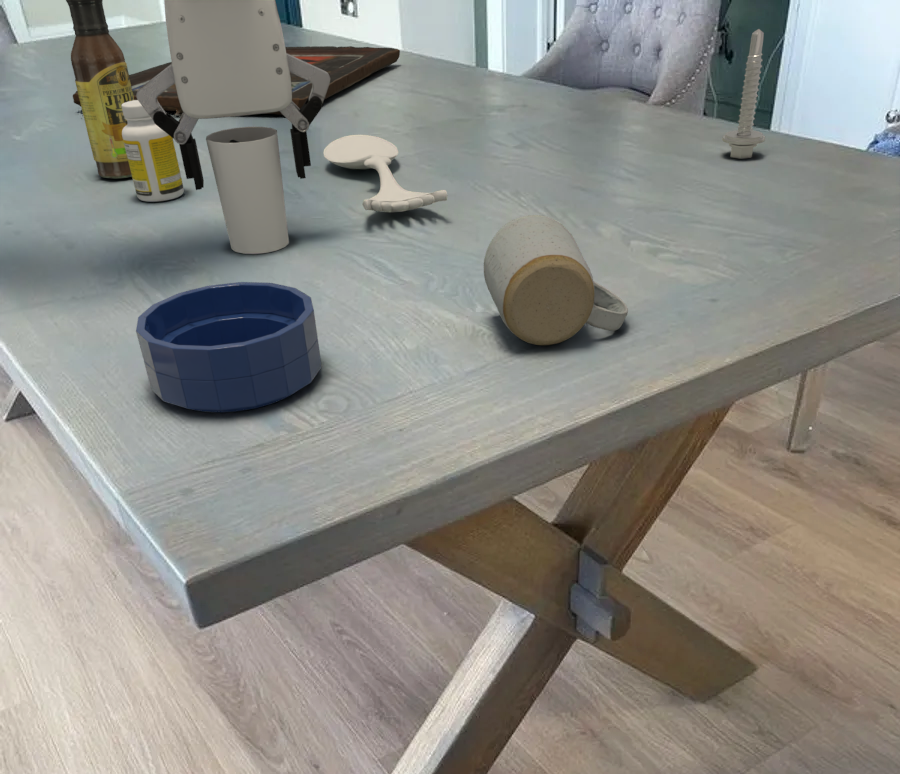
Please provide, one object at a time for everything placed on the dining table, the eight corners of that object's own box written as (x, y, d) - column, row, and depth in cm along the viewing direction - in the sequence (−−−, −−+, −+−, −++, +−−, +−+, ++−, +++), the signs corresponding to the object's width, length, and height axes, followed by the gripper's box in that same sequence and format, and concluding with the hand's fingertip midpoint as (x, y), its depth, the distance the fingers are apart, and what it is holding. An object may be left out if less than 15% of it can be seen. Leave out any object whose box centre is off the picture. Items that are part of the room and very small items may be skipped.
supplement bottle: (188, 188, 111) (168, 96, 105) (180, 201, 107) (160, 105, 100) (142, 191, 111) (120, 99, 105) (133, 204, 106) (109, 109, 100)
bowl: (118, 394, 68) (99, 327, 64) (236, 334, 75) (224, 272, 72) (241, 433, 62) (227, 363, 59) (355, 364, 70) (347, 298, 67)
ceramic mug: (501, 356, 69) (502, 251, 65) (482, 314, 76) (482, 216, 71) (639, 344, 70) (650, 240, 66) (609, 304, 77) (617, 207, 72)
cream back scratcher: (365, 234, 94) (362, 198, 92) (319, 160, 118) (316, 130, 116) (452, 223, 95) (451, 188, 93) (389, 152, 120) (387, 122, 118)
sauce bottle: (128, 183, 114) (81, -11, 102) (88, 179, 116) (37, -11, 104) (160, 169, 119) (119, -18, 106) (121, 166, 121) (76, -18, 108)
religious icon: (69, 114, 149) (63, 93, 147) (211, 63, 182) (208, 45, 180) (297, 119, 138) (294, 96, 136) (403, 64, 171) (402, 45, 169)
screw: (718, 160, 109) (722, 150, 113) (761, 162, 108) (763, 151, 112) (734, 32, 101) (737, 25, 105) (780, 32, 100) (782, 25, 104)
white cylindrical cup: (219, 256, 91) (197, 144, 84) (234, 234, 96) (214, 128, 90) (287, 254, 90) (270, 141, 84) (298, 232, 95) (283, 125, 89)
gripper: (312, -46, 83) (336, 161, 93) (112, -31, 80) (160, 180, 91) (319, -40, 77) (344, 181, 87) (104, -23, 75) (157, 201, 85)
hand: (250, 180), depth 89 cm, fingers open, 9 cm apart
